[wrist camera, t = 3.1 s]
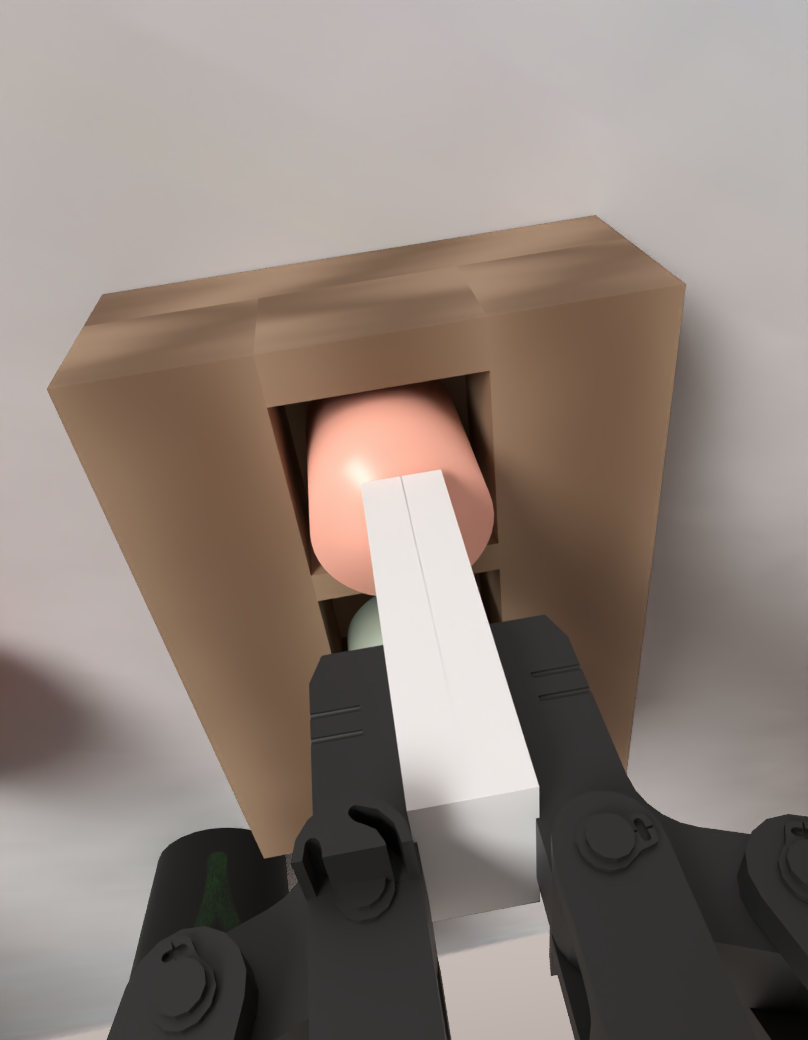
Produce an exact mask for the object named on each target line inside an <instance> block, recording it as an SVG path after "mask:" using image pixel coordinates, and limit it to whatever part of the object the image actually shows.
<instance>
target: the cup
mask: <svg viewBox="0 0 808 1040" xmlns="http://www.w3.org/2000/svg"><path fill="white" fill-rule="evenodd" d="M288 893H289V890H288V879H287V868H286V858H285V855H281V856H275V857H270V858H265V859H264V857H263V855H262V853H261V851H260V849H259V846H258V844H257V842H256V840H255V838H254V836H253V834H252V831H250V830H245V829H234V828H220V829H209V830H204V831H200V832H195V833H192V834H190V835H187V836H184V837H182V838H180V839H178V840H176V841H175V842H173V843H172V844H170V845H169V846H168V847H167V848H166V849H165V850H164V851H163V852H162V854H161V856H160V858H159V860H158V865H157V869H156V873H155V877H154V881H153V885H152V889H151V893H150V897H149V902H148V906H147V910H146V914H145V918H144V922H143V926H142V930H141V934H140V938H139V943H138V947H137V951H136V955H135V959H134V963H133V967H132V971H131V975H130V979H131V977H132V975H133V973H134V971H135V970H136V968H137V966H138V964H139V962H140V961H141V960H142V959H143V958H144V957H145V956H146V955H147V954H148V953H149V952H150V951H151V950H152V949H153V948H154V947H155V946H156V945H157V944H158V942H160V941H162V940H163V939H165V938H167V937H169V936H171V935H172V934H174V933H176V932H178V931H180V930H182V929H188V928H195V927H202V926H206V927H209V928H212V929H216V930H219V931H222V932H225V933H226V932H228V931H230V930H232V929H233V928H235V927H237V926H239V925H241V924H242V923H244V922H246V921H248V920H249V919H251V918H253V917H255V916H257V915H258V914H260V913H262V912H264V911H266V910H267V909H269V908H270V907H272V906H273V905H275V904H276V903H277V902H279V901H280V900H282V899H283V898H284V897H285V896H286V895H287V894H288ZM129 981H130V980H129Z"/></svg>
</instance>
